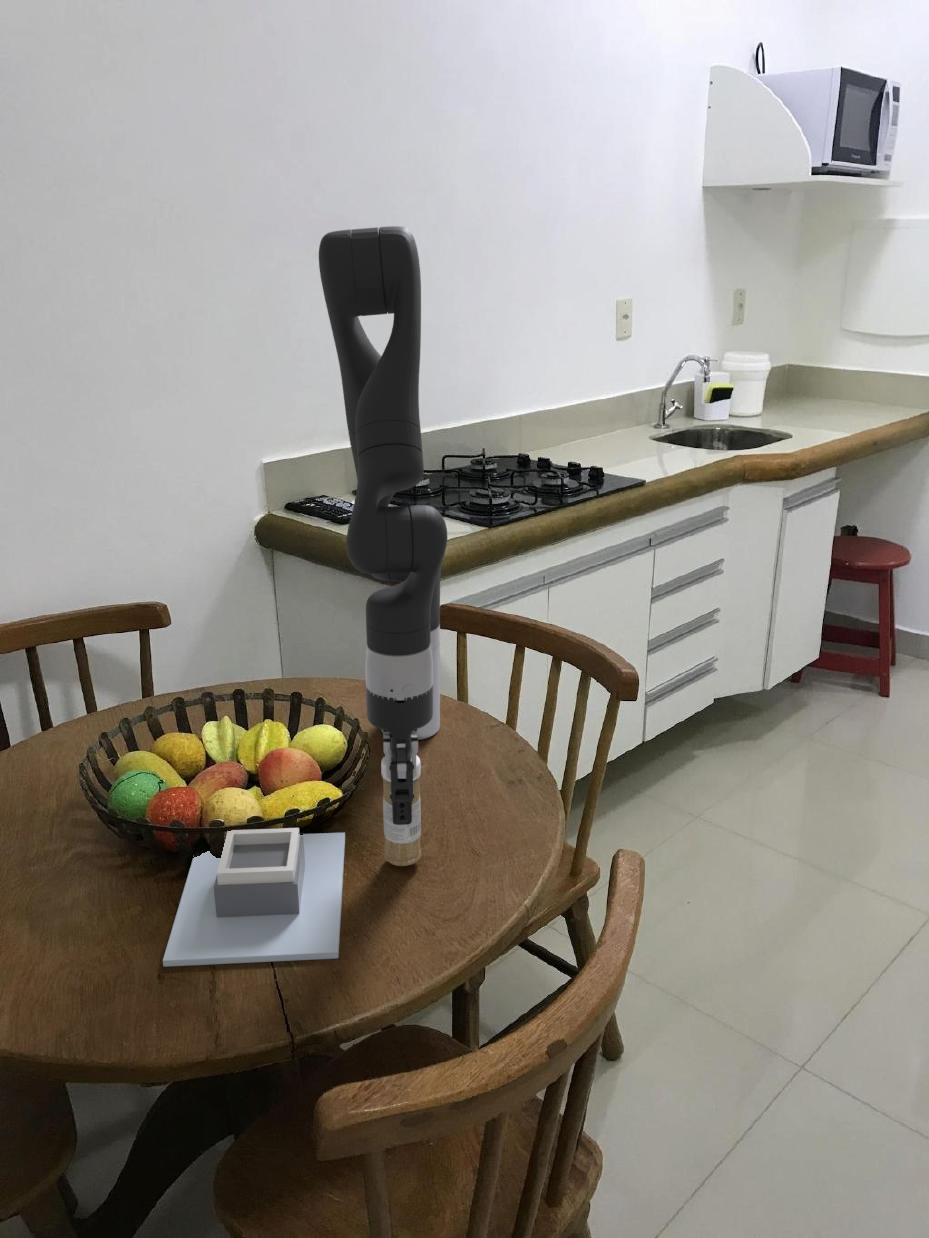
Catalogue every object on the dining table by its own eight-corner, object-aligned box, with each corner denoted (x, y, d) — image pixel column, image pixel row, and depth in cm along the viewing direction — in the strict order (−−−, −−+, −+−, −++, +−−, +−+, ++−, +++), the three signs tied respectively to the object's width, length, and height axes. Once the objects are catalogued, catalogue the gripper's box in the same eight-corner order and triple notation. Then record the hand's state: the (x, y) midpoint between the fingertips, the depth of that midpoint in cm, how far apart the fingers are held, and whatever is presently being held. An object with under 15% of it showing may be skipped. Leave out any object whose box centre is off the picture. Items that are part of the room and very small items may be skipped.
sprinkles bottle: (406, 841, 121) (405, 745, 116) (429, 858, 118) (428, 760, 113) (376, 854, 118) (373, 757, 113) (398, 872, 115) (396, 773, 110)
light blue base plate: (199, 843, 122) (195, 799, 119) (345, 837, 123) (343, 794, 121) (163, 966, 101) (157, 916, 99) (338, 958, 103) (336, 909, 100)
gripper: (366, 655, 115) (370, 780, 122) (364, 711, 102) (369, 848, 109) (429, 653, 116) (430, 778, 122) (436, 708, 103) (436, 845, 109)
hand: (401, 810), depth 116 cm, fingers closed on sprinkles bottle, 4 cm apart
